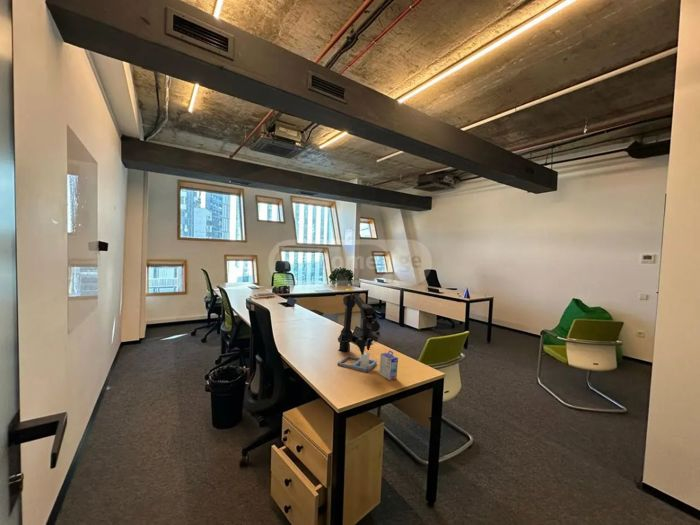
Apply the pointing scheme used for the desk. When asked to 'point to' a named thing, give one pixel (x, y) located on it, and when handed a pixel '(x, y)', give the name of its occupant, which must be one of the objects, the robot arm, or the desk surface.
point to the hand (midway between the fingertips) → (365, 352)
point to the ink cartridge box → (388, 365)
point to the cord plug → (364, 360)
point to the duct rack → (355, 365)
